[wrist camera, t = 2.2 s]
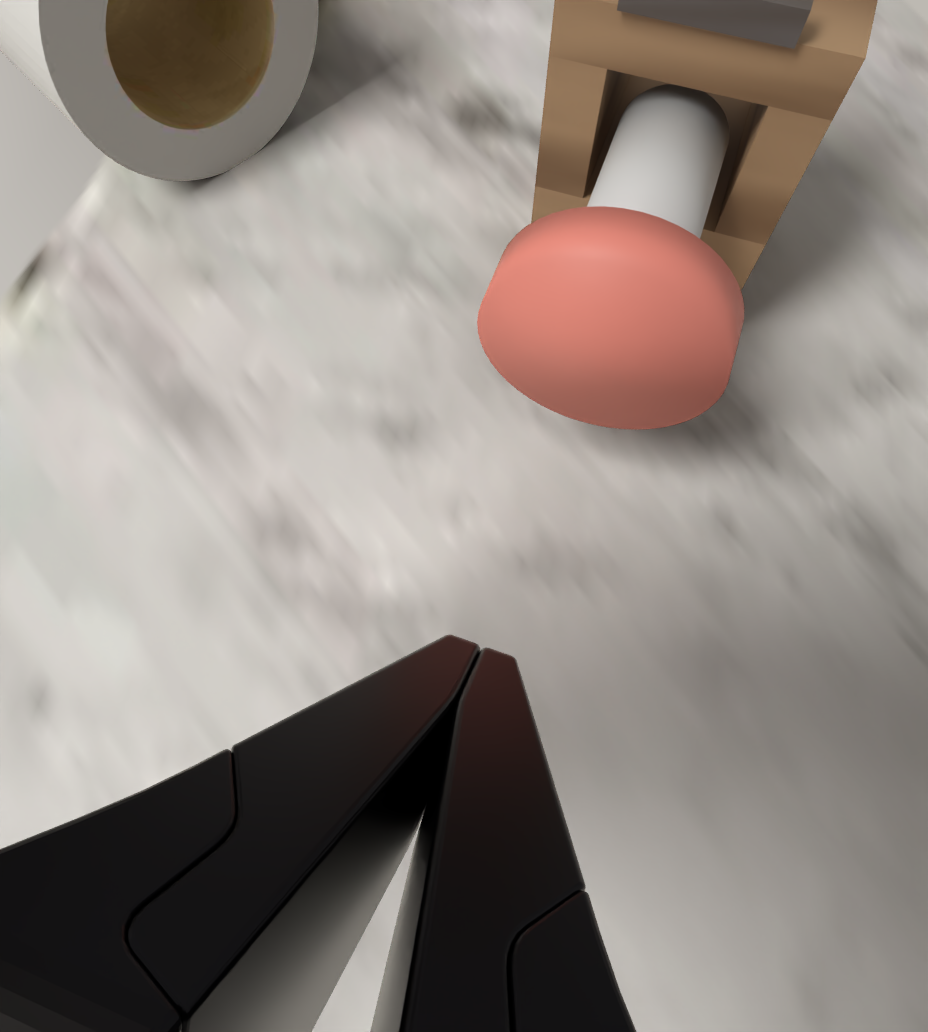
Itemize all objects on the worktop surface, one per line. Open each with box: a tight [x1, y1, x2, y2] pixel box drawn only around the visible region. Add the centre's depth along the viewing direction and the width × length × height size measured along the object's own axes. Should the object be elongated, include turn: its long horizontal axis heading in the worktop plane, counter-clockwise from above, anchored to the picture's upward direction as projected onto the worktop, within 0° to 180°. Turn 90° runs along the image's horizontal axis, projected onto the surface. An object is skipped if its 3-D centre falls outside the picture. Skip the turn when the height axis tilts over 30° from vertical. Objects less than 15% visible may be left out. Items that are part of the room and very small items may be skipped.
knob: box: [477, 84, 744, 429], centre depth 18 cm, size 8×6×6 cm
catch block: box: [531, 0, 877, 290], centre depth 21 cm, size 6×7×11 cm
